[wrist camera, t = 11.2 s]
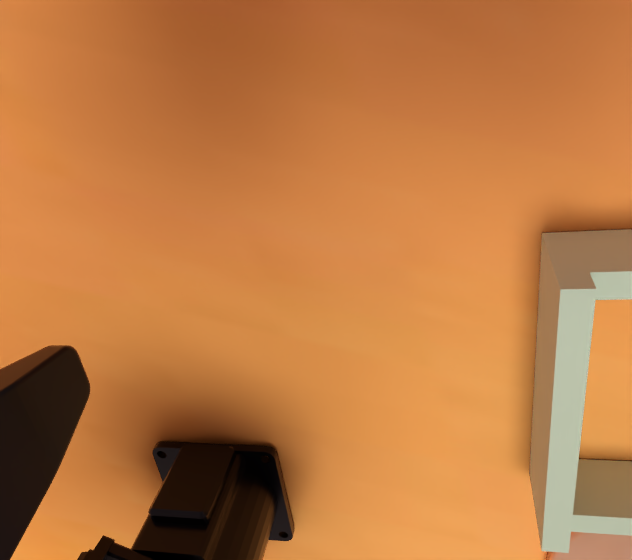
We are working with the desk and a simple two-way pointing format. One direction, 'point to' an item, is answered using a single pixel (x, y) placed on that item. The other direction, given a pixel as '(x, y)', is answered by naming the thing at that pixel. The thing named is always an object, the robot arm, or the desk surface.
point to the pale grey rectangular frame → (574, 388)
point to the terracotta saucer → (596, 547)
